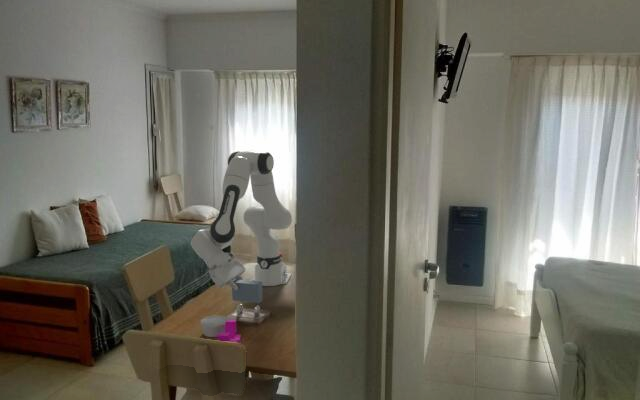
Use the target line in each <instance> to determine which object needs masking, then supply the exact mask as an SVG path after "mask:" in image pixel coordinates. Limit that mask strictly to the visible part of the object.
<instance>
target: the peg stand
mask: <svg viewBox="0 0 640 400" xmlns="http://www.w3.org/2000/svg"><path fill="white" fill-rule="evenodd" d="M271 316H273V310H265V309H261V308H260V305H256V307H254V308H247V307H243V303H238V305H236V309H235V310H233V311H232V312H231V313H230V314H229V315H227V316H226V317H228V318H229V320H236V325H241V326H245V327H246V326H247V327H248V326H249V327H256V328H260V327H261V326H262V325H263V324H264V323H265V322H266V321H267V320H268V319H269V318H270V317H271ZM260 325H261V326H260Z"/></svg>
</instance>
